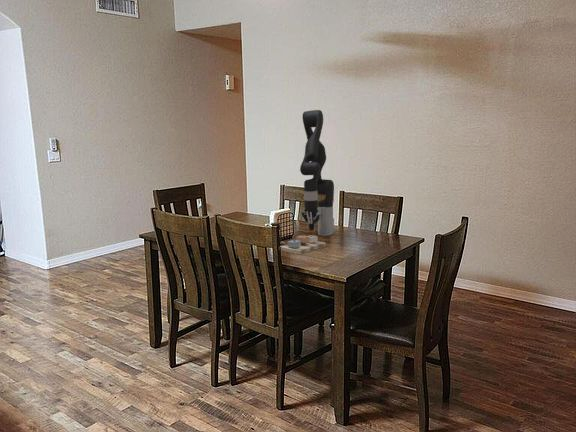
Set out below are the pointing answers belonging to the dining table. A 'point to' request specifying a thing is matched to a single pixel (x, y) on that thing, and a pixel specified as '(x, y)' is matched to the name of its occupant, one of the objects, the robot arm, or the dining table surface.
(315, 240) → the light grey square block
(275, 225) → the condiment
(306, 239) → the tile
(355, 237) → the dining table surface
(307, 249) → the board
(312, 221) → the robot arm
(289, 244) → the grey block
